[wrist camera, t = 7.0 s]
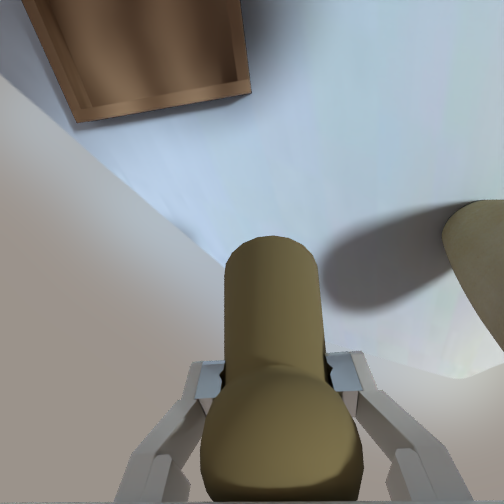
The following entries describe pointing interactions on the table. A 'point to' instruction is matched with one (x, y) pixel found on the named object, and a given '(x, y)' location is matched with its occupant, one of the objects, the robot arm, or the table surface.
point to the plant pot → (480, 259)
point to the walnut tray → (142, 53)
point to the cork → (277, 388)
